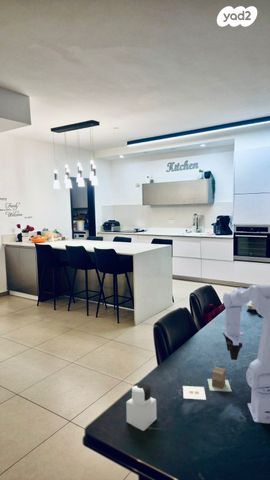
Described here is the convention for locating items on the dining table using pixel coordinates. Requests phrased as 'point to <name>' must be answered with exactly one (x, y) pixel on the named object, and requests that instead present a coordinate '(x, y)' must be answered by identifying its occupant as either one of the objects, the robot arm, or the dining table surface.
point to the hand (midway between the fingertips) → (232, 354)
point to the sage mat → (225, 388)
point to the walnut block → (218, 377)
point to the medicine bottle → (141, 407)
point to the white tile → (194, 392)
